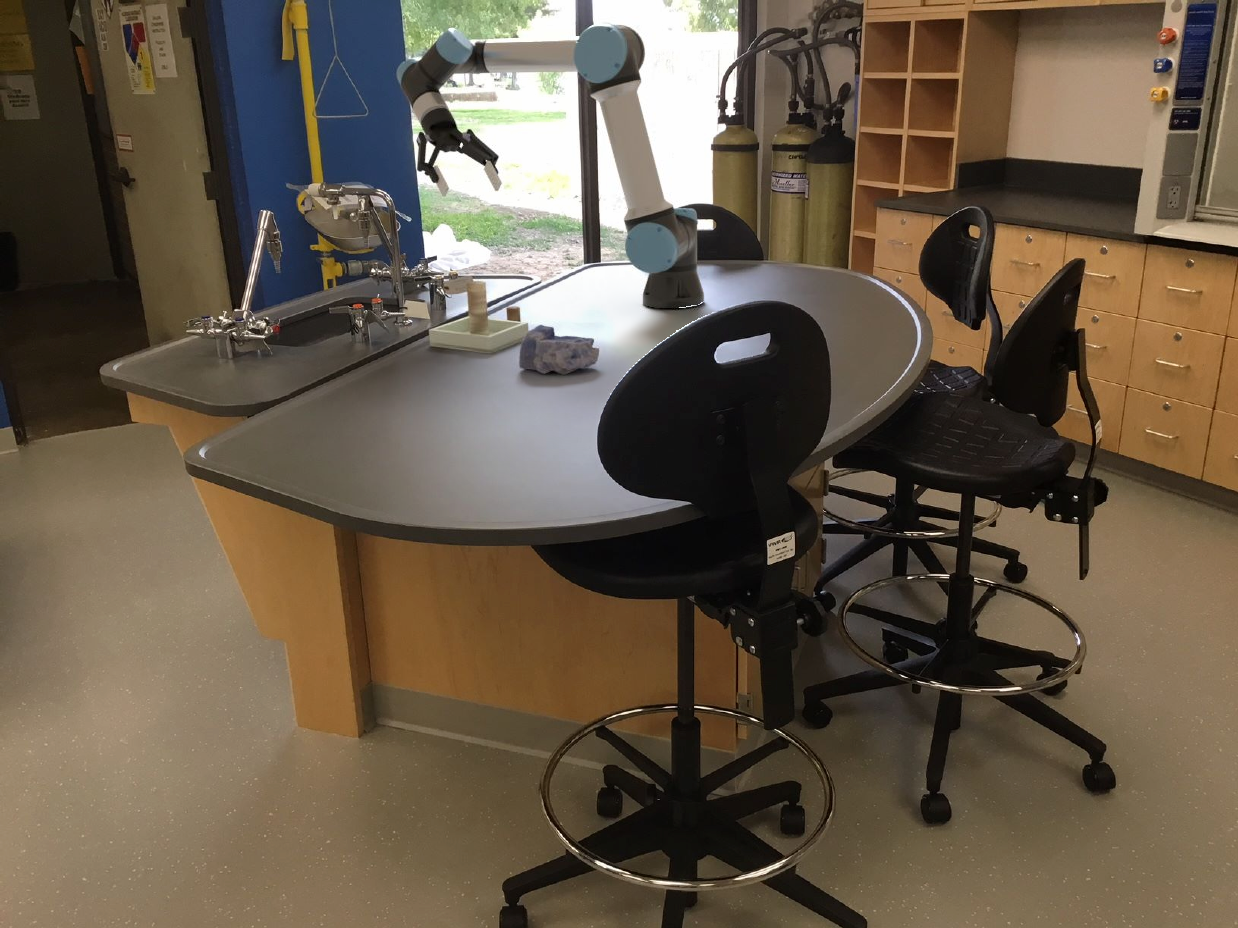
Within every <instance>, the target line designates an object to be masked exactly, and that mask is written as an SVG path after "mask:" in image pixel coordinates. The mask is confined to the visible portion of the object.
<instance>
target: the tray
mask: <svg viewBox="0 0 1238 928" xmlns="http://www.w3.org/2000/svg"><path fill="white" fill-rule="evenodd" d="M488 330H489V336H486V335H478V334H470V326H469V315H468V316H465V317H462V318H460V319H456V320H454V321H451V322H448V323H445V324H441V325H439V326H436V327H433V328H430V329H428V336H429V346H430V347H436V348H443V349H451V350H457V351H466V352H475V353H482V354H487V355H489V354H490V355H491V354H494V353H497V352H499V351H502V350H504V349H507V348H508V347H511V346H513V345H514V346H515V345H516V344H519V343H522V341H523V339H524V338H525V336H526V333H527V332H528V331H530V330H529V322H527V321H526V322H525V321H521V322H518V321H509V320H507V319H499V318H490V317H489V318H488Z"/></svg>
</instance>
